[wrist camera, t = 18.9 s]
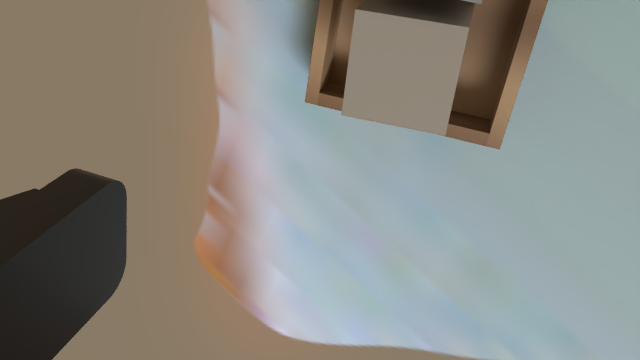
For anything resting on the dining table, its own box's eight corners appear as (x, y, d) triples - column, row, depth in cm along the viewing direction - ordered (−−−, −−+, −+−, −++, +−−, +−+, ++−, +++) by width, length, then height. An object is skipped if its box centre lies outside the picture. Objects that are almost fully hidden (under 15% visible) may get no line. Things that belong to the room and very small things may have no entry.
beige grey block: (384, -13, 26) (355, 9, 20) (475, 1, 25) (469, 27, 20) (371, 75, 28) (341, 114, 22) (455, 90, 27) (445, 135, 22)
